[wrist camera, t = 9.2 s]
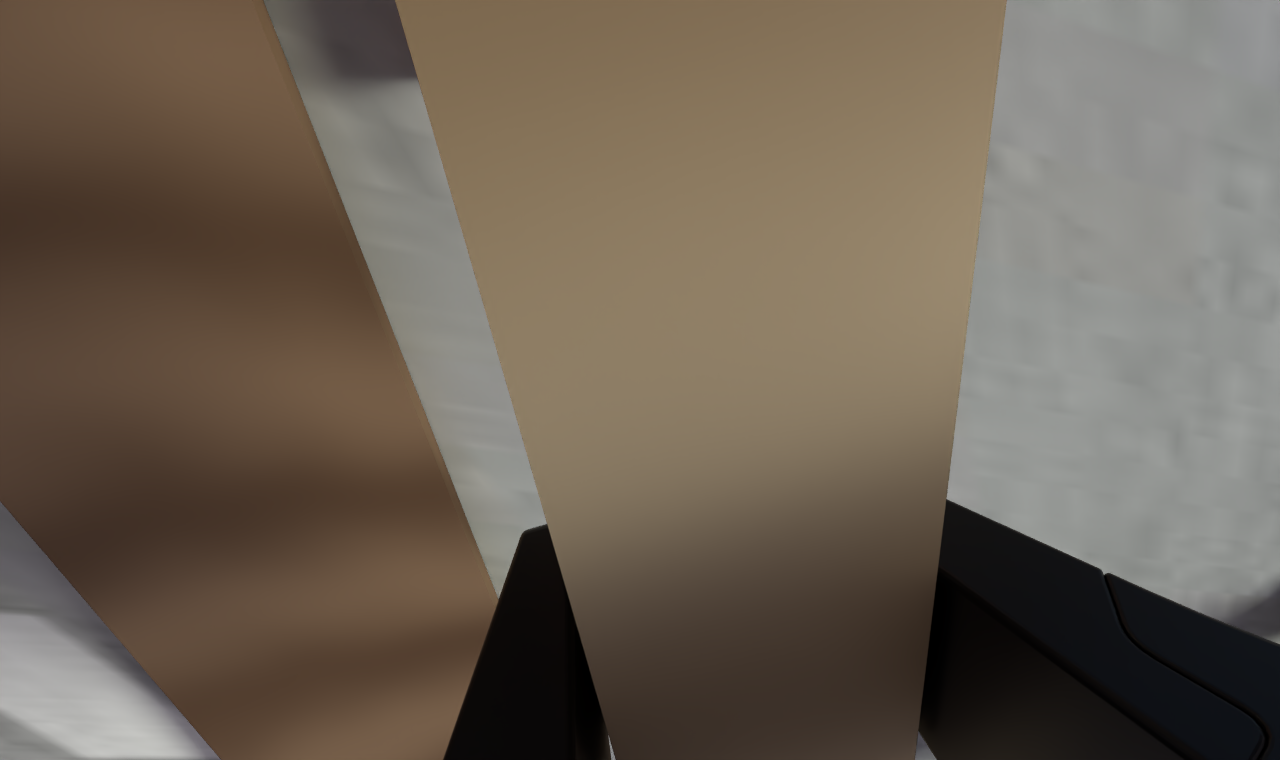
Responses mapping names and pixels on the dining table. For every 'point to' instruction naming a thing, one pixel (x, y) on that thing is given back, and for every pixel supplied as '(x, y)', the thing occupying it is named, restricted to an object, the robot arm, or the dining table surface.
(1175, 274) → the dining table surface
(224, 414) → the rest board
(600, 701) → the oak scraper
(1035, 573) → the robot arm
